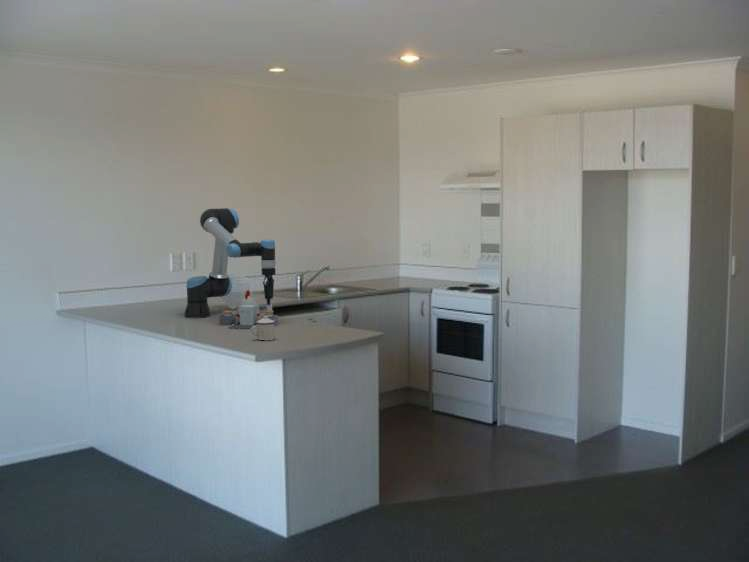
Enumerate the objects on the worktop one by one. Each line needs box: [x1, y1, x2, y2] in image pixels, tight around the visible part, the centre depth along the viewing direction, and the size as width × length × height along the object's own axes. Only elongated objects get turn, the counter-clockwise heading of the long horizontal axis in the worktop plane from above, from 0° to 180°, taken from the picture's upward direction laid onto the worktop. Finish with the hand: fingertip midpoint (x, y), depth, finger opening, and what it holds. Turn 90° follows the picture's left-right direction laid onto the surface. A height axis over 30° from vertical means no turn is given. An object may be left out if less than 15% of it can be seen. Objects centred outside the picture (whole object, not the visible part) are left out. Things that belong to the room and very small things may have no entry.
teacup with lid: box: [250, 315, 276, 341], centre depth 401 cm, size 12×9×12 cm
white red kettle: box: [235, 290, 261, 318], centre depth 482 cm, size 14×14×15 cm
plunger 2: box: [264, 309, 274, 317], centre depth 447 cm, size 5×5×6 cm
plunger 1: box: [222, 310, 233, 316], centre depth 451 cm, size 5×5×6 cm
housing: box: [218, 313, 279, 326], centre depth 449 cm, size 12×31×5 cm, turn 80°
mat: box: [228, 324, 255, 330], centre depth 439 cm, size 9×12×1 cm
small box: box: [239, 305, 258, 325], centre depth 449 cm, size 8×6×10 cm
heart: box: [221, 272, 251, 310], centre depth 510 cm, size 28×16×22 cm, turn 38°
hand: (269, 310), depth 447 cm, fingers closed
